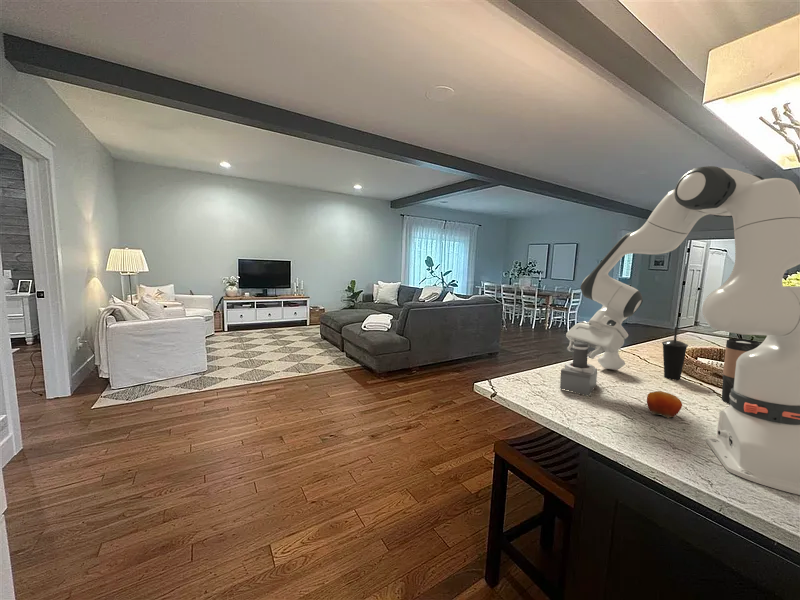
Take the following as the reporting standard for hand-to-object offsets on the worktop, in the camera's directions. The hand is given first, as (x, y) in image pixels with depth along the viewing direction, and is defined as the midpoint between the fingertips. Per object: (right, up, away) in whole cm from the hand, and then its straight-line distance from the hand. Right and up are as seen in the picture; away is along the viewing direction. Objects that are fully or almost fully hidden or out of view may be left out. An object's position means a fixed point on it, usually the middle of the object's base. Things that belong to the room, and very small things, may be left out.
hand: (579, 353), depth 117 cm
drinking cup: (+42, -11, +10) cm, 44 cm away
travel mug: (+43, -14, -13) cm, 47 cm away
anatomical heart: (+25, -10, +21) cm, 34 cm away
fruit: (+13, -15, -21) cm, 29 cm away
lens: (+1, -6, +1) cm, 6 cm away
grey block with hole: (+1, -12, +1) cm, 12 cm away
